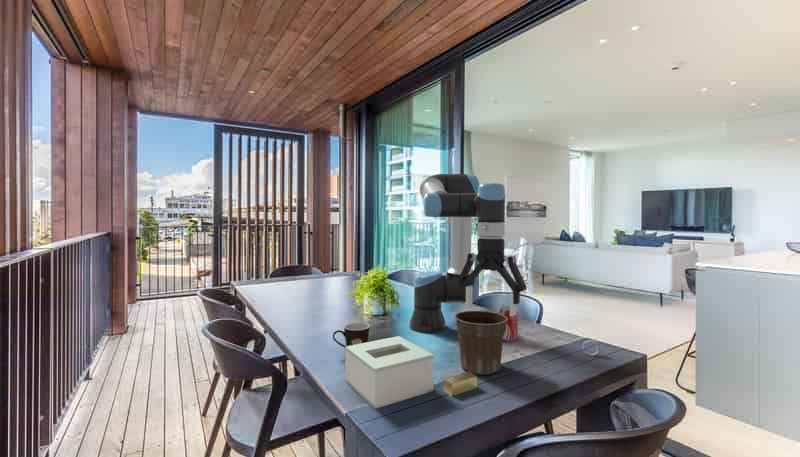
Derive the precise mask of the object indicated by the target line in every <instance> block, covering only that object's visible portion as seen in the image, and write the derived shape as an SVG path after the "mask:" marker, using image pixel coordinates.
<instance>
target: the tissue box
mask: <svg viewBox="0 0 800 457" xmlns="http://www.w3.org/2000/svg"><path fill="white" fill-rule="evenodd" d="M345 346H346V345H345ZM344 349H345V350H344V351H345V355H344V356H345V358H344V359H345V361H344V362H345V368H344V369H345V382H346V383H347V384H348V385H349V386H350V387H351V388H352V389H353V390H354V391H356V393H357V394H359V395H360V396H361V398H362V399H363V400H364V401H366V402H367V403H368V404H369V405H370V406H371V407H372V408H373V409H374V410H376V409H380V408H382V407H386V406H389V405H392V404H395V403H399V402H402V401H405V400H408V399H411V398H415V397H417V396H421V395H424V394H428V393H431V392H434V364H435V363H434V354H433V353H431V352H429V351H427V350H426V349H424V348H422V347H420V346H418V345H416V344H414V343H413V342H412V341H409V340H407V339H405V338H404V337H401V336H399V335H397V336H393V337H388V338H383V339H377V340H372V341H368V342H366V343H361V344H356V345H351V346H346V347H345V348H344Z"/></svg>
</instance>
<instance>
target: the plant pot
mask: <svg viewBox="0 0 800 457" xmlns="http://www.w3.org/2000/svg"><path fill="white" fill-rule="evenodd" d="M454 320H455V323H456V330H457V334H458V345H459V356H460V367H461V369H462V370H464V371H467V372H470V373H472V374H474V375H479V376H487V375H489V376H490V375H493V374H494V373H499V371H500V370H501V364H502V354H503V342H504V340H503V335H504V332H505V326H506V322H507V317H506V316H504V315H502V314H499V312H495V311H488V310H465V311H460V312H457V313H456V314H454Z"/></svg>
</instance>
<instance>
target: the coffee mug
mask: <svg viewBox="0 0 800 457" xmlns="http://www.w3.org/2000/svg"><path fill="white" fill-rule="evenodd" d="M343 329H344V331H343V330H340V329H339V330H335V331H334V332H333V333H332V339H333V341H335V342H336V343H337V344H338V345H339V346H341V347H343V348H344V349H345V347H346V346H351V345H356V344H361V343H366V342H369V334H370V324H368V323H365V322H350V323H347V324H345V325H344V326H343ZM337 333H341V334H342V335H343V337H344V338H345V344H342V342H340V341H338V339H336V338H335V335H336V334H337Z"/></svg>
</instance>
